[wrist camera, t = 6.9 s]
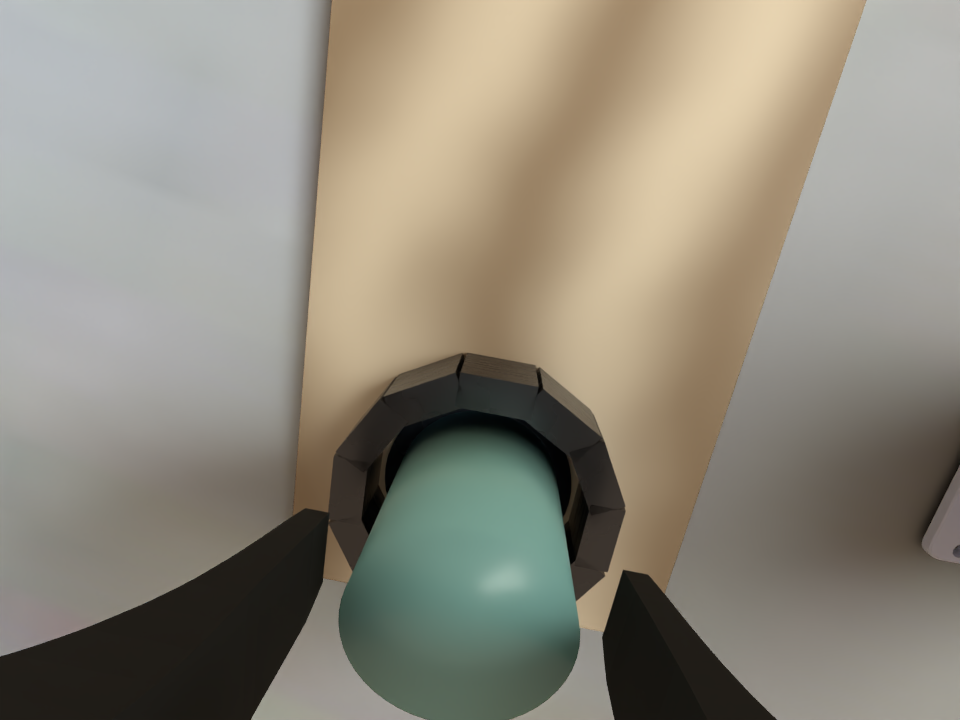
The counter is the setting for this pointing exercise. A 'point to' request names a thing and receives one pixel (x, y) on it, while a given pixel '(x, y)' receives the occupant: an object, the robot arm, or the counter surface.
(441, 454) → the teal cylinder
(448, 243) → the wooden board
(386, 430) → the dark brown ring
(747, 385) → the counter surface
